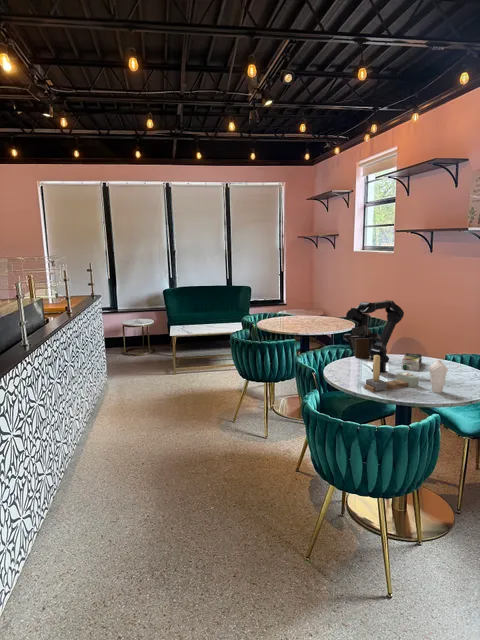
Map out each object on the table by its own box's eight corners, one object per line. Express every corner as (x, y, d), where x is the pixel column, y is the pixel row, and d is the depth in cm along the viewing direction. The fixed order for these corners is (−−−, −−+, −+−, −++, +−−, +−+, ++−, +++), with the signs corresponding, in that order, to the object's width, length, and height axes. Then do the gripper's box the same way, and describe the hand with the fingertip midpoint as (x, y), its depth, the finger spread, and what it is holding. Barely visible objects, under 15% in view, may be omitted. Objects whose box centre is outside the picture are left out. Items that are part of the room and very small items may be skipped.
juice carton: (419, 371, 239) (419, 361, 238) (401, 369, 244) (401, 359, 243) (422, 363, 257) (422, 353, 256) (404, 362, 261) (405, 352, 261)
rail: (399, 383, 218) (399, 379, 218) (407, 386, 212) (407, 382, 212) (364, 388, 211) (364, 384, 210) (372, 392, 205) (372, 388, 205)
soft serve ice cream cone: (445, 395, 198) (447, 362, 196) (426, 392, 202) (427, 360, 200) (447, 390, 205) (449, 358, 202) (429, 387, 209) (430, 356, 207)
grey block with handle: (375, 384, 214) (376, 353, 212) (386, 389, 206) (387, 357, 204) (365, 386, 212) (366, 354, 210) (376, 390, 204) (377, 358, 202)
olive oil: (363, 360, 267) (364, 321, 263) (350, 357, 276) (351, 319, 272) (374, 357, 273) (375, 319, 269) (361, 354, 282) (362, 317, 278)
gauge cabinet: (404, 381, 221) (404, 370, 221) (418, 386, 212) (418, 375, 211) (396, 382, 220) (397, 371, 219) (410, 387, 210) (410, 376, 210)
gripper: (340, 321, 227) (337, 349, 223) (374, 319, 215) (372, 348, 211) (348, 326, 235) (346, 354, 231) (381, 325, 224) (380, 353, 220)
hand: (360, 352), depth 223 cm, fingers open, 9 cm apart
